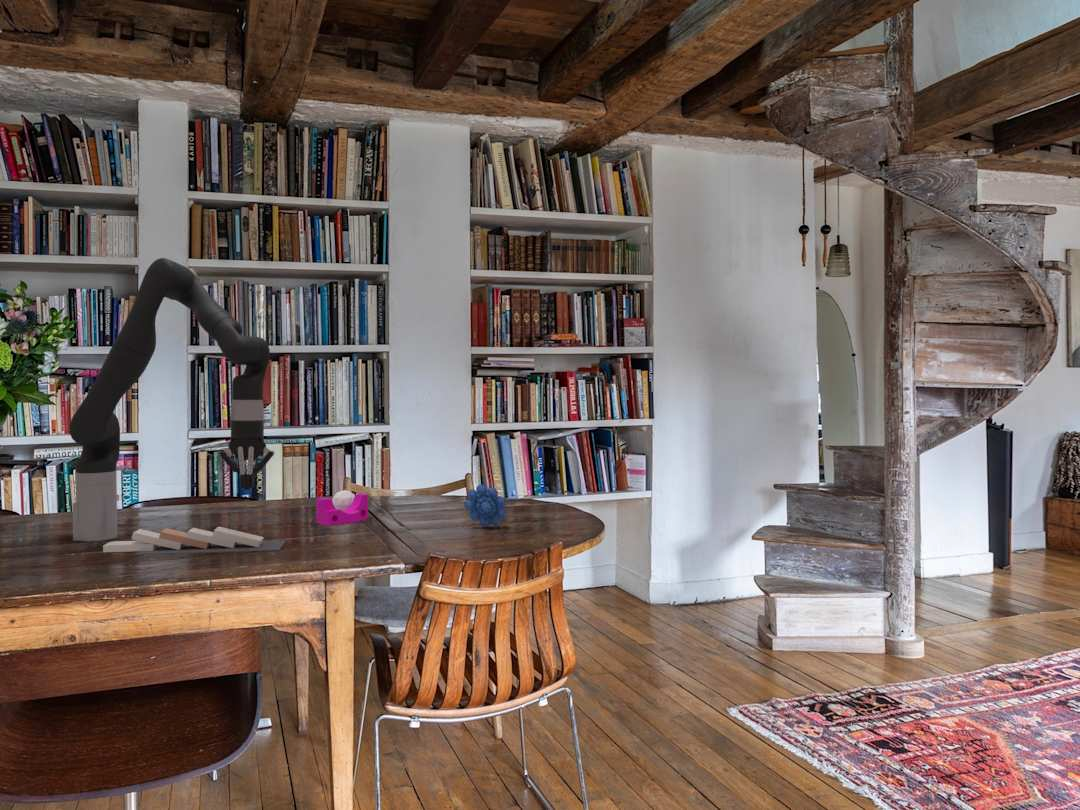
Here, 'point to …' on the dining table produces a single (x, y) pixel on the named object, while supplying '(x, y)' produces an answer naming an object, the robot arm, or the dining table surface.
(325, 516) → the toy block
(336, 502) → the geometric ball
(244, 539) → the domino
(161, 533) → the domino
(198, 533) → the domino
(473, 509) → the blue flower rosette
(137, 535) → the domino
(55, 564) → the dining table surface
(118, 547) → the domino
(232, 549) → the domino mat
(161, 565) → the dining table surface
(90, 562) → the dining table surface
